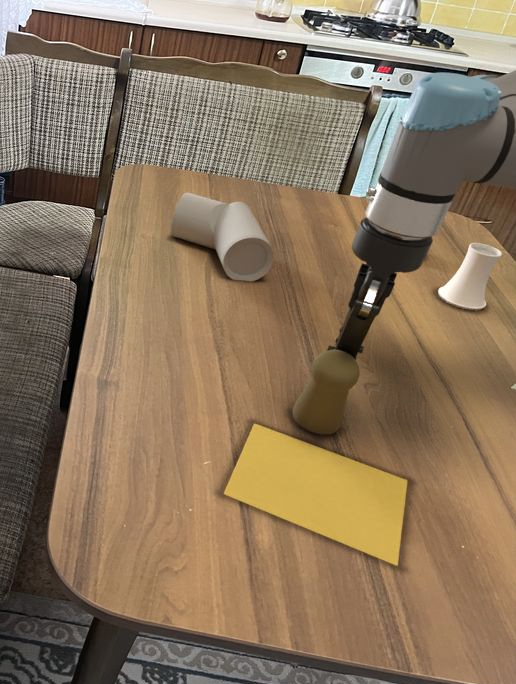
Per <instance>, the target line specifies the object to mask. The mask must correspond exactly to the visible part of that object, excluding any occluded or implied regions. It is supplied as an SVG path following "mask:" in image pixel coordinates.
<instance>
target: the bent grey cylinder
mask: <svg viewBox="0 0 516 684" xmlns="http://www.w3.org/2000/svg"><path fill="white" fill-rule="evenodd" d="M170 231H171V232H170V233H171V236H172V237H174V238H177V239H180V240H184V241H187V242H189V243H193V244H196V245H199V246H202V247H205V248H209V249H211V250H214V251H216V253H217V256H218V258H219V261H220V264H221V266H222V269H223V271H224V273H225V274H226V276H228V277H229V278H230V279H231V280H233V281H245V282H255V281H257V280H259V279H261V278H263V277H264V276H265V275H267V273H268V272H269V271H270V270H271V268H272V267H273V264H274V260H275V252H274V250H273V247H272V246H271V244H270V242H269V240H268V238H267V237H266V234H265V232H264V231H263V230H262V227H261V225H260V224H259V222H258V221H257V219H256V217H255V215H254V213H253V211H252V210H251V208H250V207H249V206H248V204H246V203H245V202H242V201H233V202H231V203H226V202H222V201H219V200H216V199H213V198H208V197H206V196H203V195H202V196H201V195H197V194H194V193H191V192H185V193H183V195H182V196H181V197H180V199H179V201H178V203H177V205H176V208H175V210H174V213H173V216H172V220H171V225H170Z"/></svg>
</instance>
